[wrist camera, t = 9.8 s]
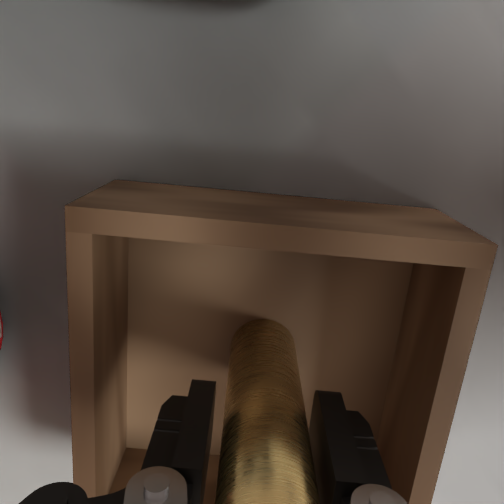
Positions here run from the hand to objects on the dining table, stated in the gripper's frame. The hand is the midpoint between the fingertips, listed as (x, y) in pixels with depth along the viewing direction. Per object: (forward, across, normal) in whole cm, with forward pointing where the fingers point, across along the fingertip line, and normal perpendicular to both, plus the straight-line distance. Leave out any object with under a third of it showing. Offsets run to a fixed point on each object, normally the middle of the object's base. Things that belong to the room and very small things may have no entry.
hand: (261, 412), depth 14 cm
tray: (+5, 0, 0) cm, 5 cm away
